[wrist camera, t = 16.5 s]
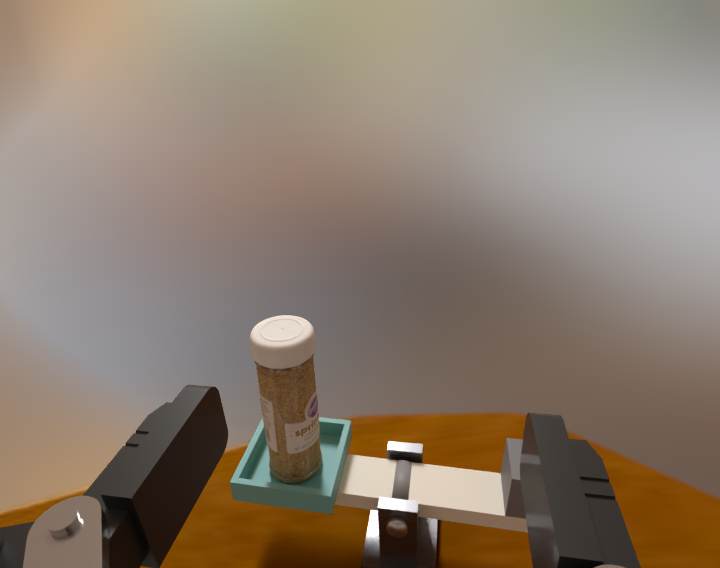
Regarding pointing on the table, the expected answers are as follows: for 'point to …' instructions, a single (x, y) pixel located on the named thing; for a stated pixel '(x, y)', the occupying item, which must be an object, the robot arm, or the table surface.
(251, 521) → the table surface
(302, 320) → the sprinkles bottle
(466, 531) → the table surface
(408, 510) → the pivot stand
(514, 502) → the beam
